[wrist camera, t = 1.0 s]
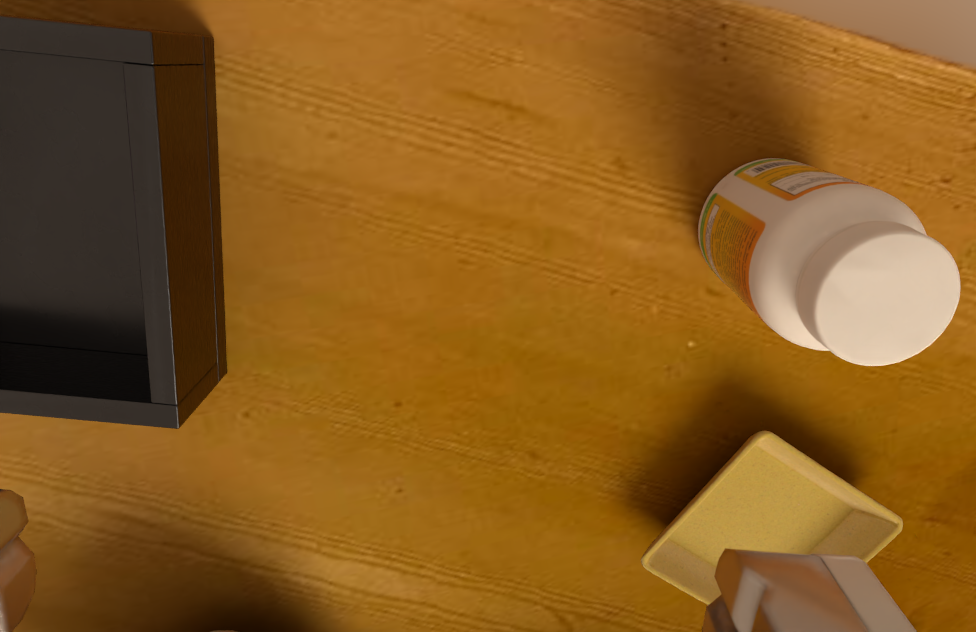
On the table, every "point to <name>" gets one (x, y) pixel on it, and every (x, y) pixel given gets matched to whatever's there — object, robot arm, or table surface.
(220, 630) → the bowl
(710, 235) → the supplement bottle
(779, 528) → the saucer
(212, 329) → the open square tray
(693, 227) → the table surface
